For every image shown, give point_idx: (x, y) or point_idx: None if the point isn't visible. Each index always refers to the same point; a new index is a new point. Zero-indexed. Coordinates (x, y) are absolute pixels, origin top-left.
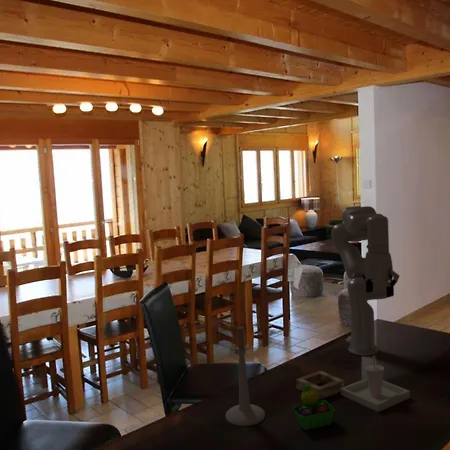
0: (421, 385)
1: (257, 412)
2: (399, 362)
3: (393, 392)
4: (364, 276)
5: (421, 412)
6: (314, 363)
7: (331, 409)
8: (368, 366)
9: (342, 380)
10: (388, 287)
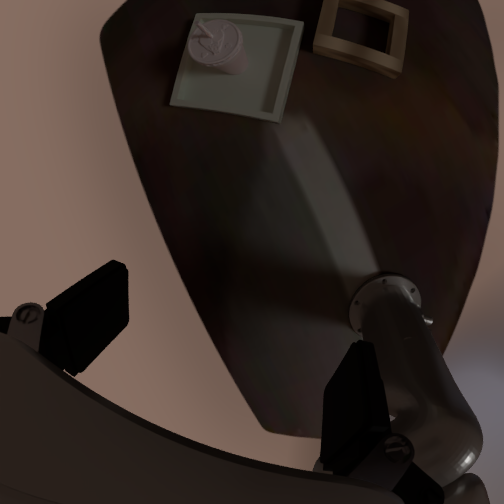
0: (184, 179)
1: None
2: (280, 280)
3: (209, 99)
4: (413, 498)
5: (141, 74)
6: (457, 168)
7: None
8: (232, 37)
9: (317, 43)
10: (54, 307)
